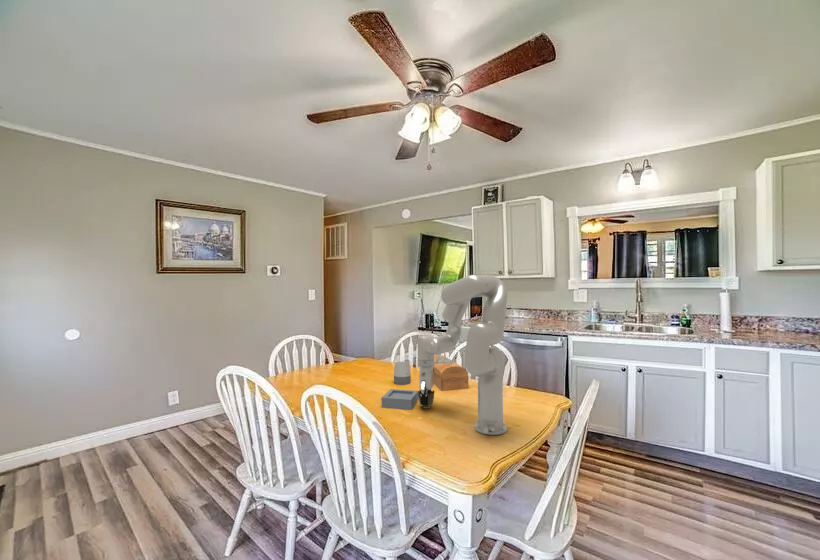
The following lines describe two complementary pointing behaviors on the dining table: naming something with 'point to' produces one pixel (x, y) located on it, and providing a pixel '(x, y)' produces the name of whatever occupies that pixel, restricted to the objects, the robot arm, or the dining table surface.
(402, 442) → the dining table surface
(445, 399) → the dining table surface
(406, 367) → the smart speaker
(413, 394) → the grey square tray
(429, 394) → the cup
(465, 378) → the wooden box
